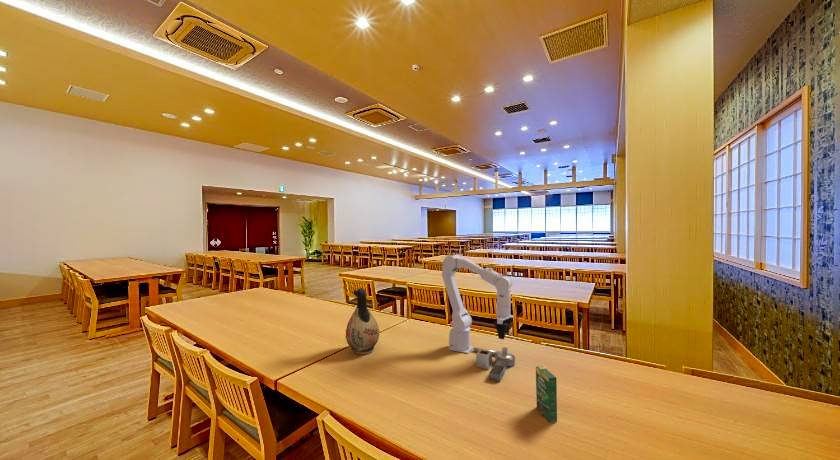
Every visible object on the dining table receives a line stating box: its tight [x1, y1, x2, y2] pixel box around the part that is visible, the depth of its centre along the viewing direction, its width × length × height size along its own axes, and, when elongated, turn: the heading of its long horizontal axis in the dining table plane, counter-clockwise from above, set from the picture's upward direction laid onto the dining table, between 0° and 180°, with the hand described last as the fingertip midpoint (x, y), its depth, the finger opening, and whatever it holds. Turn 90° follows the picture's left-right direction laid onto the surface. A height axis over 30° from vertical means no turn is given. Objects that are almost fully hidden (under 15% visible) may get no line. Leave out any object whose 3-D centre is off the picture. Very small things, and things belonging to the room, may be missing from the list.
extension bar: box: [472, 346, 502, 356], centre depth 138 cm, size 13×2×2 cm, turn 62°
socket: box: [475, 348, 493, 371], centre depth 126 cm, size 5×5×6 cm
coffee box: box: [535, 365, 558, 423], centre depth 94 cm, size 8×3×13 cm, turn 6°
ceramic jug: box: [345, 287, 380, 355], centre depth 142 cm, size 17×15×30 cm
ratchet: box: [489, 346, 516, 383], centre depth 123 cm, size 8×20×6 cm, turn 152°
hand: (503, 335), depth 133 cm, fingers open, 7 cm apart
